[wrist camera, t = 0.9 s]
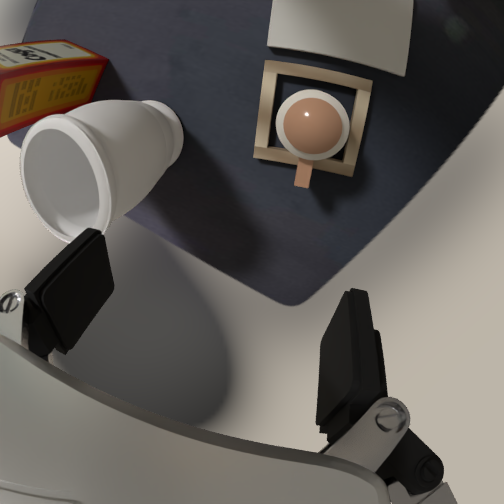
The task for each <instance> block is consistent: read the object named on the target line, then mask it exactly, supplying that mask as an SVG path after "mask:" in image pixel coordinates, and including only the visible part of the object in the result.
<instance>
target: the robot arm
mask: <svg viewBox="0 0 504 504" xmlns="http://www.w3.org/2000/svg"><path fill="white" fill-rule="evenodd" d="M24 289H25V291H26V293H27V294H26V295H25V296H24V295H23V293H22V292H21V291H20V290H10V291H7V292H5V293H4V294H3V295H2V296H1V297H0V504H391V503H390V502H392V504H457V502H456V500H455V498H454V495H453V493H452V492H451V490H450V487H449V485H448V484H447V482H445V483H443V481H442V478H443V474H444V466H443V463H442V461H441V459H440V458H439V457H438V456H437V455H436V454H435V453H434V452H433V451H432V450H431V449H430V448H429V447H428V446H427V445H425V444H424V442H423V441H422V440H420V439H419V438H418V437H417V435H415V434H414V433H413V432H412V431H411V430H410V429H409V428H408V427H409V425H410V414H409V411H408V409H407V407H406V406H405V405H404V404H403V403H402V402H401V401H399V400H398V399H396V398H392V397H388V393H387V383H386V374H385V365H384V358H383V350H382V343H381V336H380V333H379V331H378V330H374V328H373V322H372V316H371V309H370V304H369V297H368V293H367V291H364V290H359V289H355V288H351V289H350V291H345V292H344V294H343V296H342V298H341V300H340V303H339V305H338V307H337V309H336V311H335V313H334V315H333V317H332V319H331V322H330V324H329V326H328V327H327V330H326V331H325V334H324V335H323V338H322V341H321V345H320V365H319V383H318V398H317V413H316V425H319V426H320V432H319V433H325V434H327V441H328V442H329V443H328V444H327V445H326V446H325V447H324V448H323V449H322V450H320V451H319V452H318V453H316V452H309V451H303V450H297V449H292V448H285V447H279V446H274V445H268V444H263V443H258V442H253V441H249V440H243V439H240V438H235V437H230V436H227V435H223V434H219V433H215V432H211V431H207V430H204V429H200V428H197V427H194V426H190V425H187V424H184V423H181V422H178V421H175V420H172V419H169V418H166V417H163V416H160V415H158V414H155V413H152V412H150V411H147V410H144V409H142V408H139V407H136V406H134V405H132V404H129V403H127V402H125V401H122V400H120V399H118V398H116V397H113V396H111V395H109V394H107V393H105V392H103V391H101V390H98V389H96V388H94V387H92V386H90V385H88V384H86V383H84V382H82V381H80V380H79V379H77V378H75V377H73V376H71V375H69V374H67V373H66V372H64V371H62V370H60V369H59V368H57V367H55V366H54V365H53V353H52V350H53V349H54V347H55V348H56V350H58V351H59V352H61V353H63V354H65V355H66V353H67V352H68V350H70V349H72V348H73V347H74V346H75V344H76V343H77V341H78V340H79V338H80V337H81V335H82V334H83V332H84V331H85V330H86V328H87V327H88V325H89V324H90V322H91V321H92V320H93V318H94V317H95V316H96V314H97V313H98V311H99V310H100V309H101V307H102V306H103V305H104V303H105V302H106V300H107V299H108V298H109V296H110V295H111V294H112V292H113V290H114V281H113V277H112V272H111V267H110V262H109V258H108V252H107V247H106V242H105V237H104V235H103V234H102V232H101V231H100V230H97V229H93V228H87V229H85V230H84V231H83V232H82V233H81V234H79V235H78V236H77V237H76V238H75V239H74V240H73V241H72V242H71V243H70V244H68V245H67V246H66V247H65V248H64V249H63V250H62V251H61V252H60V253H59V254H58V255H57V256H56V257H55V258H54V259H53V260H52V261H51V262H49V264H47V265H46V267H44V269H42V271H40V273H39V274H38V275H37V276H36V277H35V278H34V279H33V280H32V281H31V282H30V283H29V284H28V285H27V286H26V287H25V288H24Z"/></svg>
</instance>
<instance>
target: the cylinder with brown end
mask: <svg viewBox="0 0 504 504" xmlns="http://www.w3.org/2000/svg"><path fill="white" fill-rule="evenodd" d="M276 130H277V134H278V137H279V139H280V141H281V142H282V144H283V145H284V147H285V148H286V149H287V150H288V151H290V152H291V153H292V154H294V155H296V156H297V157H299V159H298V164H297V170H296V177H295V183H294V186H299V187H305V188H308V186H309V181H310V177H311V172H312V167H313V161H314V160H322V159H326V158H329V157H331V156H333V155H334V154H336V153H337V152H338V151H339V150H340V149H341V148H342V147H343V146H344V144H345V143H346V141H347V138H348V135H349V119H348V115H347V113H346V111H345V109H344V107H343V106H342V105H341V104H340V102H339V101H338V100H336V99H335V98H334V97H332V96H331V95H329V94H327V93H324V92H322V91H319V90H315V89H306V90H301V91H299V92H297V93H295V94H293V95H292V96H290V97H289V98H288V99H286V100H285V101H284V103H283V104H282V105H281V107H280V109H279V111H278V113H277V117H276Z"/></svg>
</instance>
